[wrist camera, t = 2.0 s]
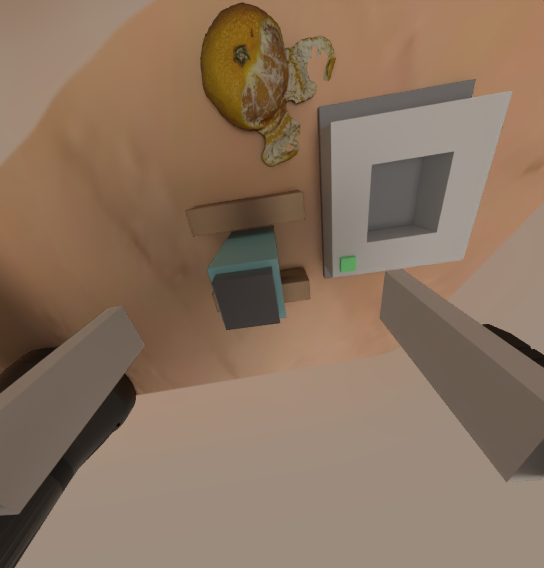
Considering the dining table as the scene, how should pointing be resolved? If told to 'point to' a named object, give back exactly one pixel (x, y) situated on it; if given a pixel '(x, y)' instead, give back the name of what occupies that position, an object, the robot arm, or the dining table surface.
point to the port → (404, 176)
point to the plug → (248, 279)
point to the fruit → (259, 75)
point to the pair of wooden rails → (255, 215)
